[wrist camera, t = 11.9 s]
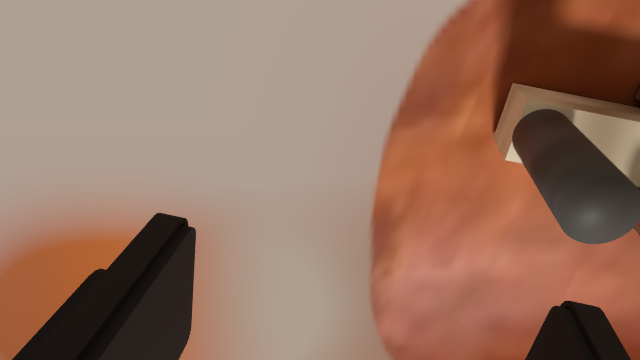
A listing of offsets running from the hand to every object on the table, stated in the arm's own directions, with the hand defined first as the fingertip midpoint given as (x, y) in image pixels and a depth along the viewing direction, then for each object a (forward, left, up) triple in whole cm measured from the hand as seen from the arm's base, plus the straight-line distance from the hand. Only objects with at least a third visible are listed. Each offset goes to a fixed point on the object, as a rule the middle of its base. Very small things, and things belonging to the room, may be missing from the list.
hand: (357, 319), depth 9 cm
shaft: (-11, 0, -18) cm, 21 cm away
